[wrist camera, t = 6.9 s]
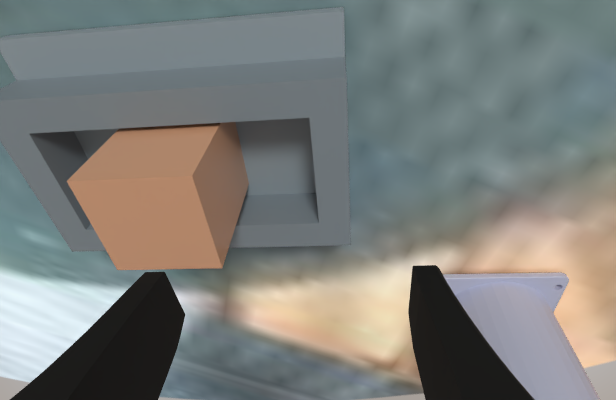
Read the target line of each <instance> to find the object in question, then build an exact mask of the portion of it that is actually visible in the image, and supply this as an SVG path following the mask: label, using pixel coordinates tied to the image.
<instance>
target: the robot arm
mask: <svg viewBox="0 0 616 400" xmlns="http://www.w3.org/2000/svg"><path fill="white" fill-rule="evenodd" d="M568 282H569V279H568V277H567V275H566V274H565V273H494V274H442V273H441V271H440V269H439V268H438V267H437V266H436V265H432V266H413V269H412V280H411V290H410V301H409V320H410V328H411V335H412V342H413V349H414V353H415V357H416V362H417V366H418V370H419V374H420V378H421V382H422V386H423V390H424V395H425V399H426V400H600V398H599V396H598V394H597V392H596V390H595V389H594V387H593V385H592V383H591V381H590V380H589V378H588V376H587V374H586V372H585V370H584V368H583V367H582V365H581V363H580V361H579V359H578V357H577V356H576V354H575V352H574V350H573V348H572V346H571V345H570V343H569V341H568V339H567V337H566V335H565V334H564V332H563V330H562V328H561V326H560V324H559V323H558V321H557V319H556V317H555V315H554V313H553V312H554V310H555V308H556V306H557V304H558V302H559V300H560V298H561V296H562V294H563V292H564V290H565V288H566V286H567V284H568ZM184 317H185V313H184V311H183V309H182V307H181V305H180V303H179V301H178V299H177V297H176V294H175V292H174V290H173V288H172V286H171V284H170V282H169V280H168V278H167V276H166V274H165V272H145V273H144V274H143V275H142V276H141V277H140V278H139V279H138V280H137V281H136V282H135V283H134V284H133V285H132V286H131V287H130V288H129V289H128V290H127V291H126V292H125V293H124V294H123V295H122V296H121V297H120V298H119V299H118V300H117V301H116V302H115V303H114V304H113V305H112V306H111V308H110V309H109V310H108V311H107V312H106V313H105V314H104V315H103V316H102V317H101V318H100V319H99V320H98V321H97V322H96V323H95V324H94V325H93V326H92V327H91V328H90V329H89V330H88V331H87V332H86V333H85V334H83V335H82V336H81V337H80V338H79V339H78V340H77V341H76V342H75V343H74V344H73V345H72V346H71V347H70V348H69V349H67V350H66V351H65V352H64V353H63V354H62V355H61V356H60V357H59V358H58V359H57V360H56V361H55V362H53V363H52V364H51V365H50V366H49V367H48V368H47V369H46V370H45V371H44V372H42V373H41V374H40V375H39V376H38V377H37V378H35V379H34V380H33V381H32V382H31V383H30V384H28V385H27V386H26V387H25V388H24V389H22V390H21V391H20V392H19V393H18V394H16V395H15V396H14V397H13V398H12V399H10V400H158V398H159V395H160V393H161V390H162V387H163V385H164V382H165V380H166V377H167V374H168V372H169V369H170V366H171V364H172V361H173V358H174V355H175V353H176V350H177V347H178V343H179V339H180V335H181V331H182V326H183V322H184Z"/></svg>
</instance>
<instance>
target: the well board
mask: <svg viewBox="0 0 616 400" xmlns="http://www.w3.org/2000/svg"><path fill="white" fill-rule="evenodd" d="M0 52H1V54H2V55H3V57H4V59H5V61H6V63H7V64H8V66H9V68H10V70H11V71H12V73H13V75H14V77H15V79H16V81H15V82H13V83H11V84H9V85H7V86H5V87H3V88H1V89H0V141H1V143H2V144H3V146H4V147H5V149H6V150H7V152H8V153H9V155H10V157H11V158H12V160H13V161H14V163H15V164H16V166H17V167H18V169H19V170H20V172H21V173H22V175H23V177H24V178H25V180H26V181H27V183H28V184H29V186H30V187H31V189H32V190H33V192H34V193H35V195H36V197H37V198H38V200H39V201H40V203H41V204H42V206H43V207H44V209H45V210H46V212H47V213H48V215H49V217H50V218H51V220H52V221H53V223H54V224H55V226H56V227H57V229H58V230H59V232H60V233H61V235H62V236H63V238H64V240H65V241H66V243H67V244H68V246H69V247H70V249H71V250H72V251H106V249H105V247H104V246H103V244H102V242H101V240H100V239H99V237H98V235H97V233H96V232H95V230H94V228H93V226H92V225H91V223H90V221H89V219H88V218H87V216H86V214H85V212H84V211H83V209H82V207H81V205H80V204H79V202H78V200H77V198H76V197H75V195H74V193H73V191H72V190H71V188H70V186H69V184H68V183H67V180H68V179H69V178H70V177H71V176H72V175H73V174H74V173H75V172H76V171H77V170H78V169H79V168H80V167H81V166H82V165H83V164H84V163H85V162H86V161H87V160H88V159H89V158H90V157H91V156H92V155H93V154H94V153H95V152H96V151H97V150H98V149H99V148H100V147H101V146H102V145H103V144H104V143H105V142H106V141H107V140H108V139H109V138H110V137H111V136H112V135H113V134H114V133H115V132H116V131H117V130H118V129H119V128H137V127H155V126H172V125H190V124H208V123H225V122H236V127H237V131H238V136H239V140H240V145H241V150H242V154H243V159H244V163H245V168H246V172H247V177H248V181H249V185H248V189H247V192H246V195H245V198H244V201H243V204H242V208H241V211H240V214H239V217H238V220H237V223H236V226H235V230H234V233H233V236H232V239H231V242H230V245H229V248H246V247H290V246H334V245H351V229H350V190H349V151H348V113H347V76H346V62H345V33H344V7H337V8H325V9H314V10H302V11H290V12H278V13H266V14H255V15H243V16H231V17H219V18H208V19H196V20H184V21H172V22H160V23H149V24H137V25H125V26H113V27H102V28H90V29H78V30H66V31H55V32H43V33H31V34H19V35H7V36H4V37H2V38H0Z"/></svg>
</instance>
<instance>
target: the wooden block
mask: <svg viewBox="0 0 616 400" xmlns="http://www.w3.org/2000/svg"><path fill="white" fill-rule="evenodd" d="M67 183H68V184H69V186H70V188H71V190H72V191H73V193H74V195H75V197H76V198H77V200H78V202H79V204H80V205H81V207H82V209H83V211H84V212H85V214H86V216H87V218H88V219H89V221H90V223H91V225H92V226H93V228H94V230H95V232H96V233H97V235H98V237H99V239H100V240H101V242H102V244H103V246H104V247H105V249H106V251H107V252H108V254H109V256H110V258H111V259H112V261H113V263H114V265H115V266H116V268H117V270H148V269H204V268H222V267H223V264H224V261H225V258H226V255H227V252H228V249H229V245H230V242H231V239H232V236H233V233H234V230H235V226H236V223H237V220H238V217H239V214H240V211H241V208H242V204H243V201H244V198H245V195H246V192H247V189H248V185H249V181H248V177H247V172H246V168H245V163H244V159H243V154H242V150H241V145H240V140H239V136H238V131H237V127H236V122H225V123H208V124H190V125H172V126H155V127H137V128H119V129H118V130H117V131H116V132H115V133H114V134H113V135H112V136H111V137H110V138H109V139H108V140H107V141H106V142H105V143H104V144H103V145H102V146H101V147H100V148H99V149H98V150H97V151H96V152H95V153H94V154H93V155H92V156H91V157H90V158H89V159H88V160H87V161H86V162H85V163H84V164H83V165H82V166H81V167H80V168H79V169H78V170H77V171H76V172H75V173H74V174H73V175H72V176H71V177H70V178H69V179H68V180H67Z"/></svg>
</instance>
